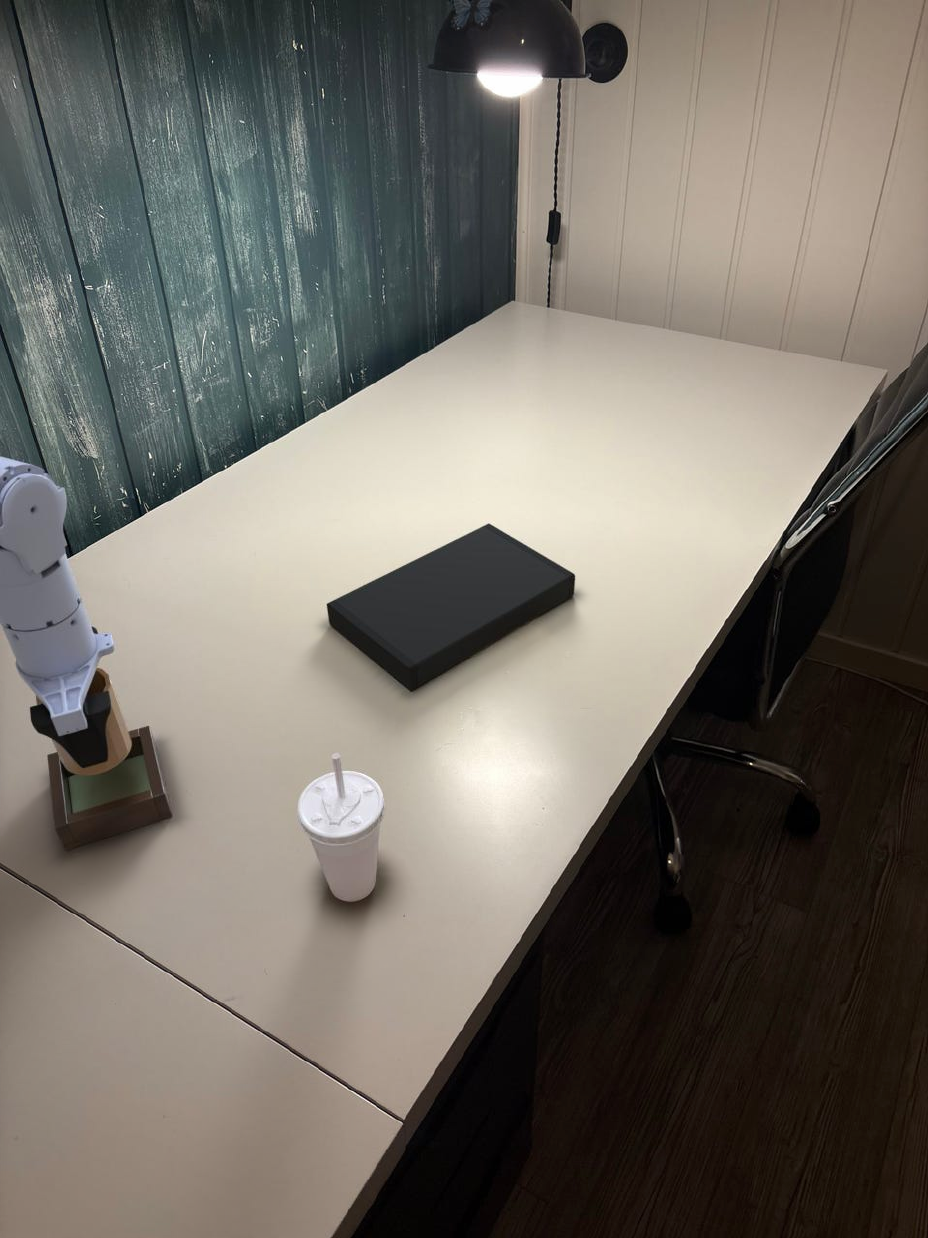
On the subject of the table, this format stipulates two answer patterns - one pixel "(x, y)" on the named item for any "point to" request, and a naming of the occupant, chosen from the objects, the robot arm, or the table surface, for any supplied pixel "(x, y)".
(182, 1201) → the table surface
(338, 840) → the smoothie
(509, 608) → the external hard drive
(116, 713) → the paper cup
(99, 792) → the cup holder
